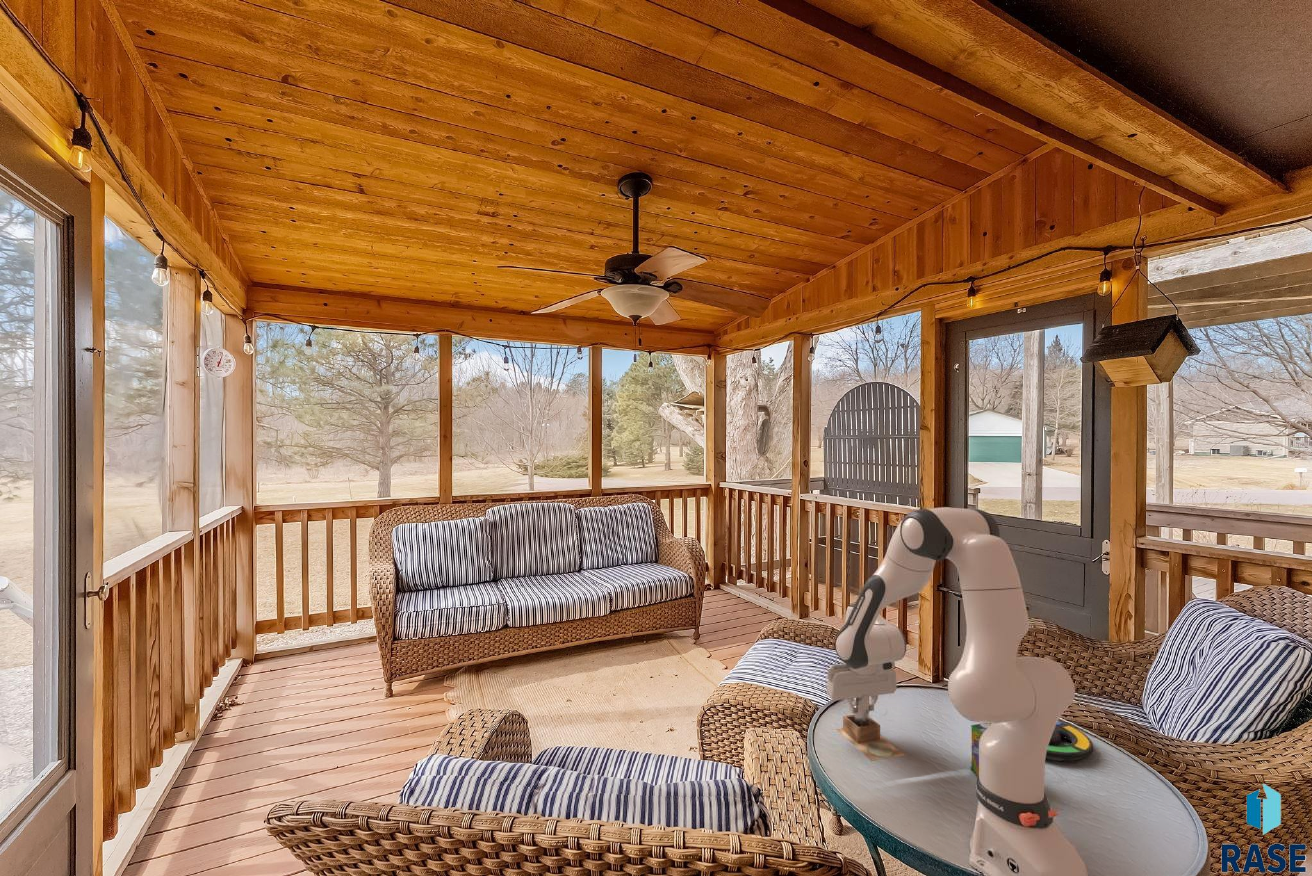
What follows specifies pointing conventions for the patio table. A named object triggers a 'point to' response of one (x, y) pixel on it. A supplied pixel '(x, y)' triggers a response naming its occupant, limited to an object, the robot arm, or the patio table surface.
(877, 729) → the pocket board
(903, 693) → the patio table surface
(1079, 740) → the electronic game
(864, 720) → the peg
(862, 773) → the patio table surface
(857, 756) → the patio table surface
